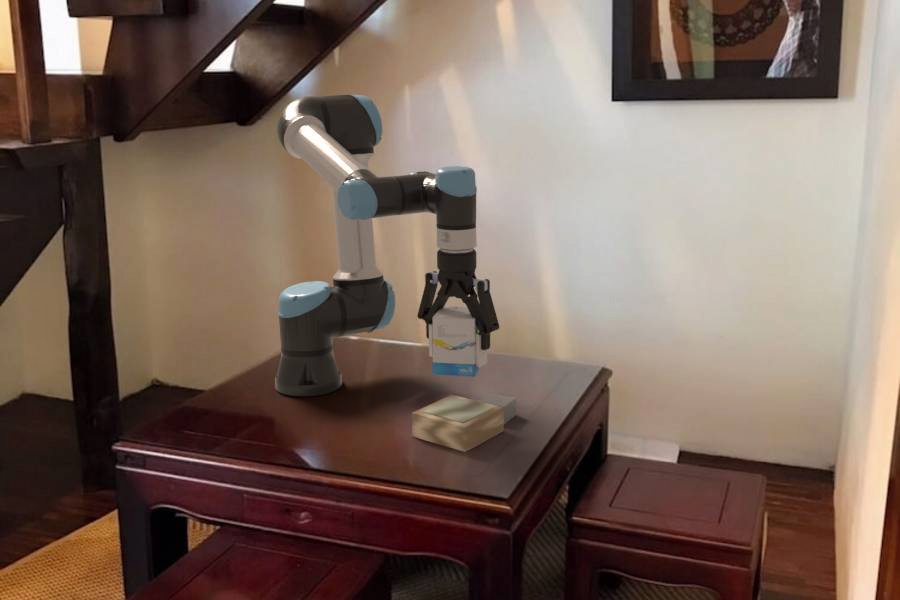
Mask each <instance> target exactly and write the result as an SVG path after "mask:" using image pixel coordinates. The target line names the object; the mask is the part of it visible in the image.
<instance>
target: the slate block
mask: <svg viewBox="0 0 900 600" xmlns="http://www.w3.org/2000/svg"><path fill="white" fill-rule="evenodd" d="M479 402H483V403H487V404H491V405H495V406H499V407H503V408H504V425H506V424H507V423H508V422H509V421H510V420H512V419H513V418H514V417H516V415H517V397H513V396H507V395H503V394H495V393H488V395H485V396H484V397H483V398H482V399H480V400H479Z"/></svg>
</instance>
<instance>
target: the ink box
mask: <svg viewBox="0 0 900 600" xmlns="http://www.w3.org/2000/svg"><path fill="white" fill-rule="evenodd" d="M432 321H433V357H432V375H436V376H437V375H438V376H439V375H440V376H453V377H454V376H455V377H472V378H473V377H474V378H475V377H476V375H477V374H478V372H479V370H480V368H481V367H476V334H477V333H479V330H478V328H477V326H476V321H475V318H472V316H471V314H470V312H469V310H468V308H467V307H460V306H459V307H458V306H450V307H447V306H444V307H443V308H442V309H440V310H439V311H438V312H437V313H436V314H435V315H434V316H433V318H432Z"/></svg>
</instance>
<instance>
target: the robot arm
mask: <svg viewBox="0 0 900 600" xmlns="http://www.w3.org/2000/svg"><path fill="white" fill-rule="evenodd" d="M276 132H277V133H276V135H277V139H278V140H279V143H280V144H281V146H282V147H283V148H284V149H285V151H286V152H287V153H288V154H289V155H290V156H292V157H294V158H296V159H301V160H302V161H304V162H305V163H306V165H308V166H309V167H310V168H311V169H312V170H313V171H314V172H315V173H316V174H318V176H319V177H320V178H321V179H323V180H324V181H325V182H326V183H327V184H328V185H329V186H330V187H331V192H332V193H331V194H332V205H333V217H334V227H335V228H334V230H335V240H336V241H335V242H336V253H337V265H338V269H337V271H336V272H335V274H334V275H333V276H332V284H333V285H332V286H330V284H329V283H328V282H326V281H323V280H322V281H321V280H314V281H305V282H300V283H297V284H294V285H291V286H288V287H287V288H285V289H284V290H283V291H281V292H280V294H279V297H278V310H277V314H278V319H279V320H278V321H279V335H280V351H281V352H280V353H281V355H280V358H279V363H278V366H277V367H278V368H277V373H276V374H275V378H274V388H275V390H276V391H277V392H278V393H280V394H282V395H286V396H292V397H314V396H316V397H317V396H322V395H326V394H330V393H333V392H335V391H337V390H338V389H340V388H341V387H342V385H343V376H342V372H341V370H340V368H339V365H338V362H337V359H336V356H335V353H334V346H333V345H334V344H333V339H336V338H341V337H347V336H351V335H358V334H364V333H367V334H369V333H372V332H374V331H379V330H383V329H385V328H387V327H388V326H389V325H390V323H391V321H392V320H393V319H394V315H395V310H396V295H395V291H394V290H393V287H394V286H393V285H392V283H391V282H390V281H389V280H387V279H385V278H384V273H383V271H381V270H380V269H379V268H378V267H377V264H376V263H377V262H376V251H375V238H374V237H375V236H374V226H373V225H374V224H373V219H377V218H383V217H391V216H393V217H394V216H402V215H403V216H404V215H411V214H412V215H413V214H420V213H421V214H422V213H431V214H434V215H436V216H435V217H436V219H435V220H436V247H437V248H438V250H437V252H436V263H437V264H436V267H437V269H438V272H437V271H436V270H433V271H430V272H426V273H425V274H424V275H425V276H424V278H425V279H424V280H425V285H424V288H423V293H422V296H421V300H420V304H419V307H418V312H417V315H416V316H417V318H418V320H423V321H424V323H425V325H426V326H425V329H426V331H425V332H426V333H425V336H426V339H428V348H429V349H428V353H429V355H428V356H429V357H431V358H433V321H432V318H433V316H434V315H435V314H436V313H437V312H438V311H439V310H440V309H442V308H443V307H446V306H445V305H446V304H447V302H448V300H449V298H453V297H454V298H456V299H461V301H462V303H463V304H465V305H466V306H465V307H466V308H468V310H469V312H470V314H471V316H472V318H475V321H476V326H477V328H478V330H479V333H477V334H476V367H480V368H482V367H483V366H486V365H487V364H488V350H489V349H490V348H491V333H492V332H495V331H498V330H499V329H500V324H499V320H498V317H497V312H496V310H495V305H494V302H493V298H492V293H491V290H490V289H491V284H490V283H491V282H490V279H488V278H485V279H479V278H477V275H476V269H477V250H475V248H476V247H477V192H478V191H477V190H478V188H477V183H476V172H475V170H474V169H473V168H471V167H468V166H459V165H457V166H455V165H454V166H444V167H438V169H436V170H435V171H436V172H435V173H433V172H429V171H425V170H424V171H412V172H410V173H407V174H404V175H392V176H381V177H380V176H377V175H376V174H375V173H373V172H372V171H371V170H370V169H369V161H370V160H371V159H372V157H373V156H374V154H375V150H374V147H376V146H377V145H379V144H380V143H381V141H382V135H383V122H382V118H381V114H380V111H379V109H378V107H377V106H376V104H375V103H374V101H373V100H372V99H371V98H370V97H368V96H367V95H366V96H365V95H361V94H338V95H337V94H336V95H321V96H320V95H319V96H312V95H311V96H303V97H299V98H297V99H295V100H293V101H291V102H290V103H288V104H287V105H286V106H285V107H284V109H283V110H282V111H281V113H280V115H279V117H278V120H277V126H276ZM438 283H439V284H440V288H439V290H438V289H437V288H438V285H439V284H438ZM437 290H438V291H437ZM436 295H437V296H436Z"/></svg>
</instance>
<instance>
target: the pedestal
mask: <svg viewBox="0 0 900 600" xmlns="http://www.w3.org/2000/svg"><path fill="white" fill-rule="evenodd" d="M479 401H480V400H479ZM479 401H478V400H475V399H472V398H466V397H463V396H460V395H459V396H458V395H456V394H449V395H448V396H446V397H444V398H442V399H439V400H437V401H434V402H433V403H430V404H428V405H426V406H424V407H422V408H420V409H418V410H415V411H412V413H411V423H412V424H411V426H412V428H411V429H412V432H411V434H412V437H413V438H415V439H420V440H423V441H427V442H430V443H432V444H436V445H440V446H443V447H446V448H451V449H454V450H456V451H460V452H462V453H463V452H464V453H465V452H467V451H469V450H471V449H473V448H475V447H477V446H478V445H480V444H483V443H484V442H486V441H488V440H491V438H493V437H494V438H495V437H496V436H498V435H499V434H501V433H503V432H504V430H505V428H504V427H505V424H504V408H503V407H499V406H495V405H491V404H487V403H483V402H479Z"/></svg>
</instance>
